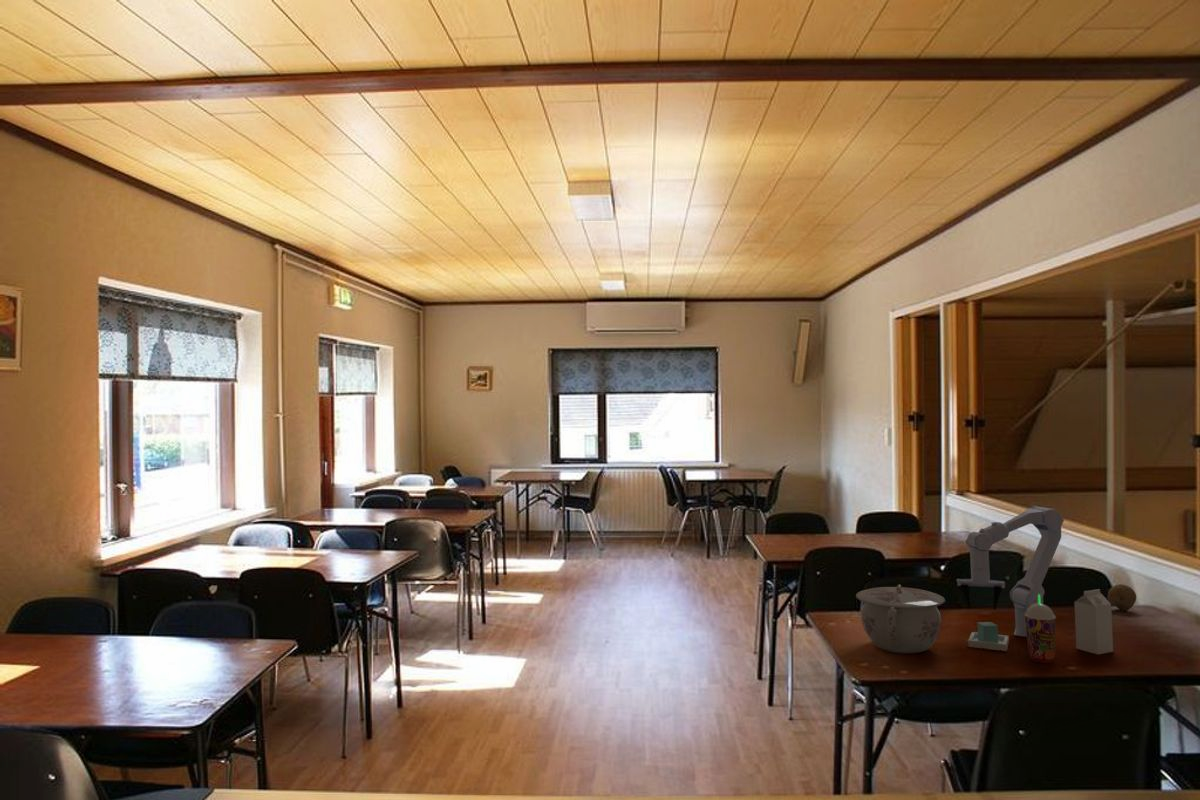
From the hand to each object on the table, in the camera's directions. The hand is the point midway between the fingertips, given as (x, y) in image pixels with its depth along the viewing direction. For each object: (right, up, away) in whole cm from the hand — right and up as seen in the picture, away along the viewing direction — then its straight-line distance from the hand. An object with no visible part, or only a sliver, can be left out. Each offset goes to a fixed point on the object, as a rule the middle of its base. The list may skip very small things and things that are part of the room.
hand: (981, 607), depth 262 cm
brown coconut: (+67, -9, +28) cm, 73 cm away
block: (-2, -9, -8) cm, 13 cm away
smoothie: (+5, -9, -26) cm, 28 cm away
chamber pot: (-31, -11, -10) cm, 34 cm away
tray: (-2, -10, -9) cm, 13 cm away
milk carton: (+27, -9, -18) cm, 34 cm away
